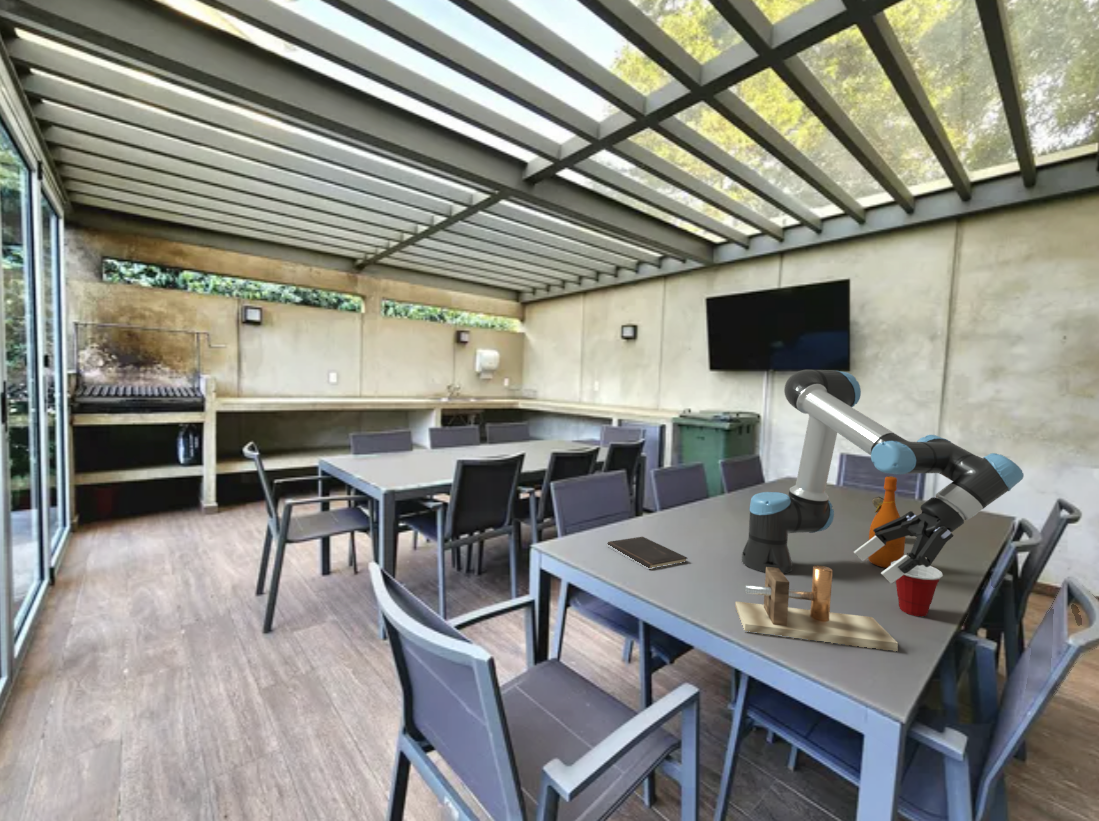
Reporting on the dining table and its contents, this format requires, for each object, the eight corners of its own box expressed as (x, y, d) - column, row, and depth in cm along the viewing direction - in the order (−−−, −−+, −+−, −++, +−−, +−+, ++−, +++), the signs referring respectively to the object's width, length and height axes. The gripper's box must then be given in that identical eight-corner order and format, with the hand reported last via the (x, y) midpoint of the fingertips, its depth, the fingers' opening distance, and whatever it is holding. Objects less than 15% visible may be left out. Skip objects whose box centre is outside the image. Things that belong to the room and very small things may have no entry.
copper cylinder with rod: (746, 612, 114) (749, 564, 114) (742, 605, 118) (745, 558, 117) (831, 622, 110) (835, 572, 110) (825, 614, 114) (828, 566, 114)
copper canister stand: (744, 632, 111) (747, 580, 110) (735, 608, 122) (737, 561, 122) (897, 651, 104) (901, 596, 104) (871, 625, 116) (875, 575, 115)
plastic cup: (883, 610, 124) (886, 566, 123) (891, 598, 132) (894, 556, 131) (936, 626, 116) (940, 579, 116) (941, 612, 124) (945, 568, 123)
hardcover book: (642, 542, 174) (642, 536, 174) (687, 564, 154) (687, 557, 154) (606, 548, 167) (607, 541, 167) (649, 571, 147) (649, 564, 146)
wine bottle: (888, 559, 163) (894, 474, 162) (910, 570, 153) (917, 479, 152) (860, 558, 163) (866, 473, 161) (881, 570, 153) (887, 479, 151)
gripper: (1003, 538, 94) (913, 603, 97) (928, 507, 118) (858, 560, 122) (974, 510, 94) (886, 575, 98) (906, 485, 119) (837, 538, 122)
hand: (871, 566), depth 110 cm, fingers open, 13 cm apart
